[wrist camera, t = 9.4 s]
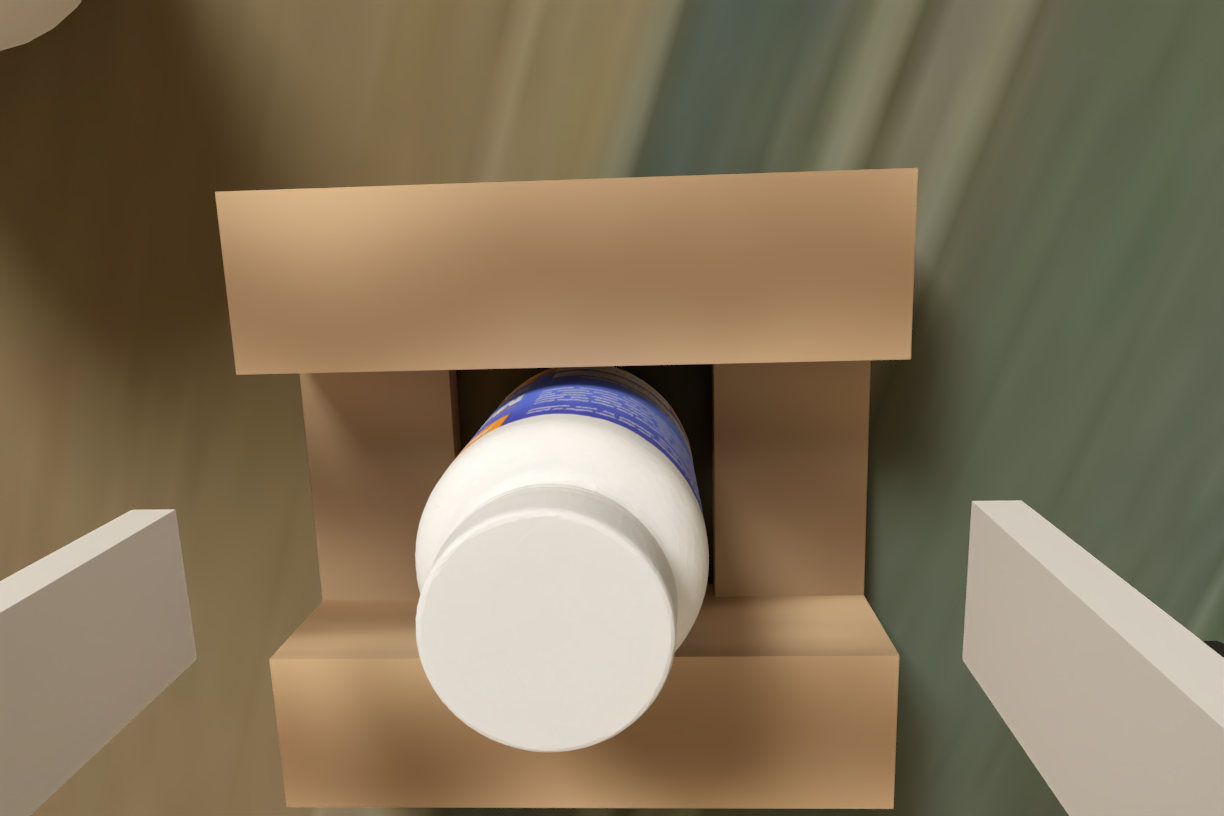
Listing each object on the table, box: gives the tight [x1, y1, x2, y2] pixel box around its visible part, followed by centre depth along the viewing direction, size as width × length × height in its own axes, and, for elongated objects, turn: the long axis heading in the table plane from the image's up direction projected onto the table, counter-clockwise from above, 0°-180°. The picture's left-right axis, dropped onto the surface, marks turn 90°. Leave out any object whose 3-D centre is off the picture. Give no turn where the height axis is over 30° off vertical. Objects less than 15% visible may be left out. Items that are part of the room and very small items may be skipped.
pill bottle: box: [415, 366, 709, 752], centre depth 18 cm, size 5×5×10 cm
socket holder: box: [215, 168, 918, 809], centre depth 20 cm, size 14×14×4 cm
